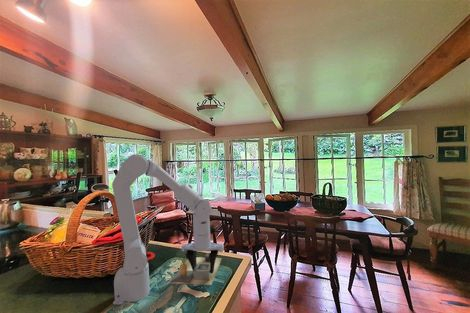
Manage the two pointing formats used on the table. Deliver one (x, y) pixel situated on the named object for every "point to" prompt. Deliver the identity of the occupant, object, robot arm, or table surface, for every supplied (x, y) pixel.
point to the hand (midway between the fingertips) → (203, 271)
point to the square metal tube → (202, 271)
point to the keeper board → (201, 260)
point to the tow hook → (150, 255)
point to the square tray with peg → (183, 274)
